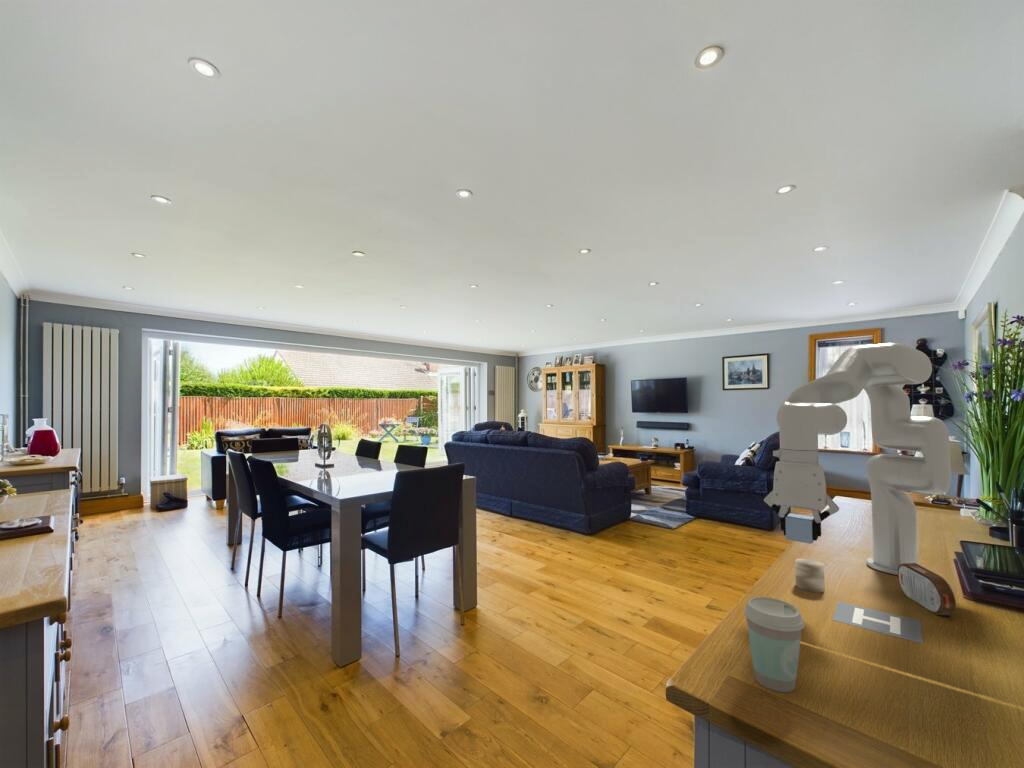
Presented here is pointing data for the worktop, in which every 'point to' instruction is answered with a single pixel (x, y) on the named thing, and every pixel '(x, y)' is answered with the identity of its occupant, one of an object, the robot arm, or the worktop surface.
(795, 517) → the blue cube
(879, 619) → the letter card
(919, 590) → the tin
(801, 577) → the beige streaked cube
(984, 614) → the worktop surface
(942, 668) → the worktop surface
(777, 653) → the coffee cup
